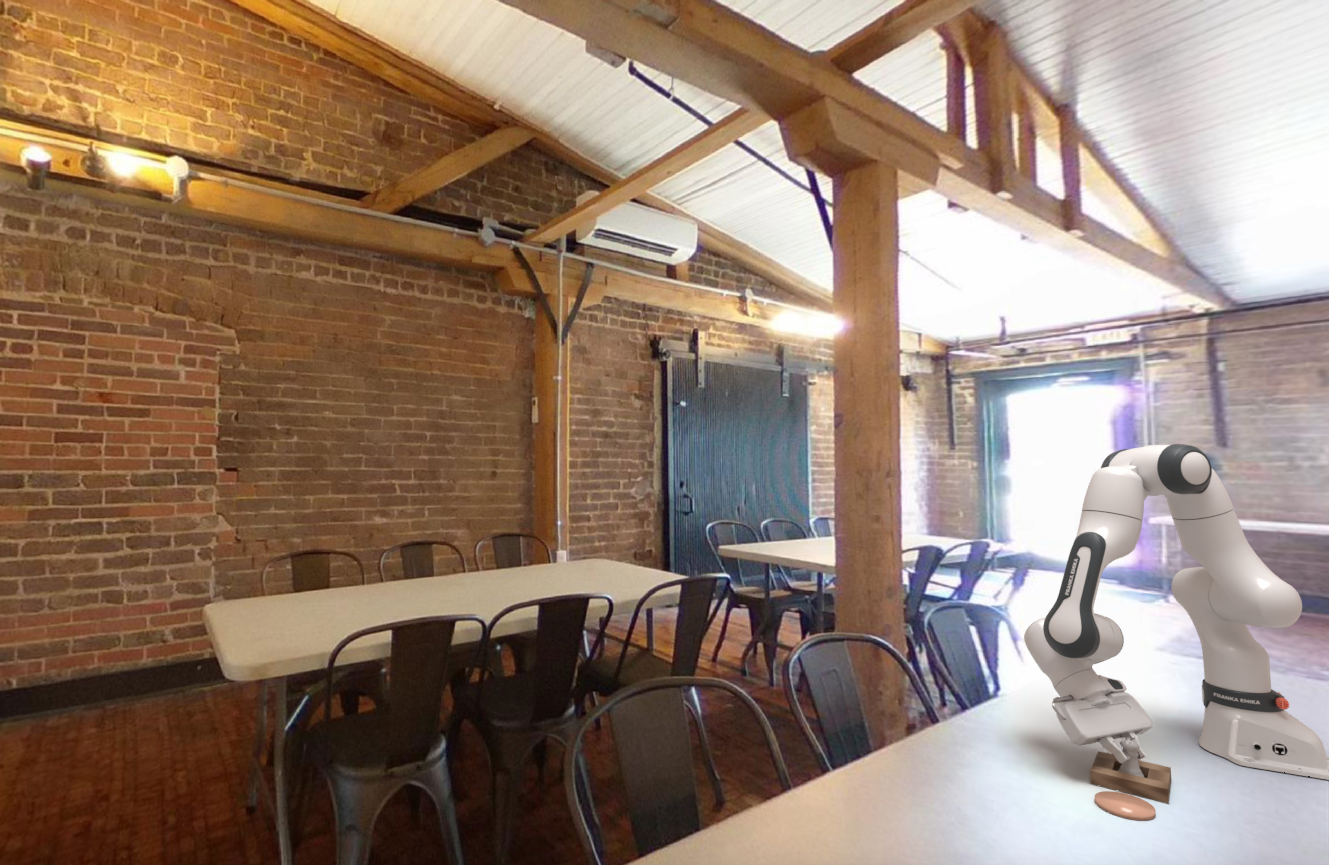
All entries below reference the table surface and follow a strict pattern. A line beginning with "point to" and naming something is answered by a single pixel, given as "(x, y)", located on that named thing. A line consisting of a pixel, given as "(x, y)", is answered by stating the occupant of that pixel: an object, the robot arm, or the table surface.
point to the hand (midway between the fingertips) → (1133, 759)
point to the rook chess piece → (1132, 764)
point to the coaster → (1125, 805)
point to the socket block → (1132, 778)
